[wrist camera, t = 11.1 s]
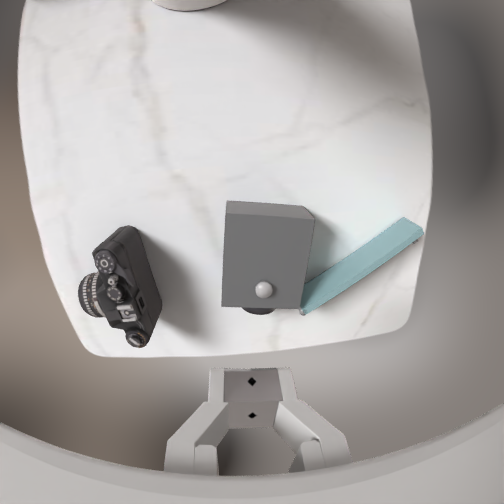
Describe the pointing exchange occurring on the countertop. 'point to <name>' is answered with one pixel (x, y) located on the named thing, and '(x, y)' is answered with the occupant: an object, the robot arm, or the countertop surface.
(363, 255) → the side door
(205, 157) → the countertop surface
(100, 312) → the camera
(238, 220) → the camera housing
